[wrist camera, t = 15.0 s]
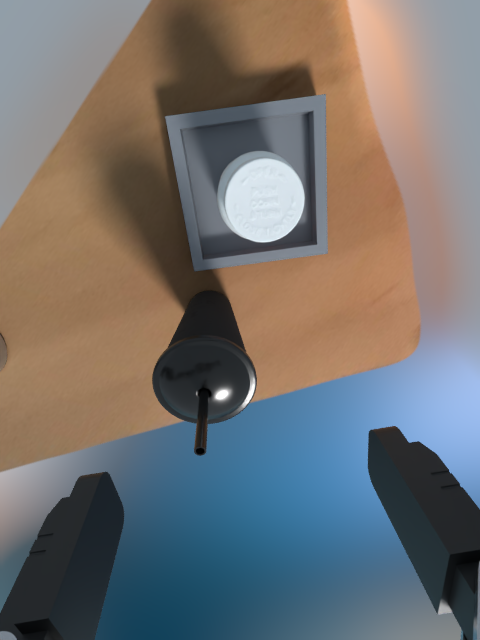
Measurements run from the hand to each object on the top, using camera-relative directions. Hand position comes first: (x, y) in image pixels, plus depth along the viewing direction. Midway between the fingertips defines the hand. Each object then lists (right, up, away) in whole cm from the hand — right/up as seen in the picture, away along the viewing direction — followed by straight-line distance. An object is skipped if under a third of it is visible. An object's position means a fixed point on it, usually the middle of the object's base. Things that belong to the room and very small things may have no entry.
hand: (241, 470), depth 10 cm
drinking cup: (-3, +6, +27) cm, 28 cm away
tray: (+1, +17, +22) cm, 27 cm away
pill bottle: (+1, +17, +21) cm, 27 cm away
